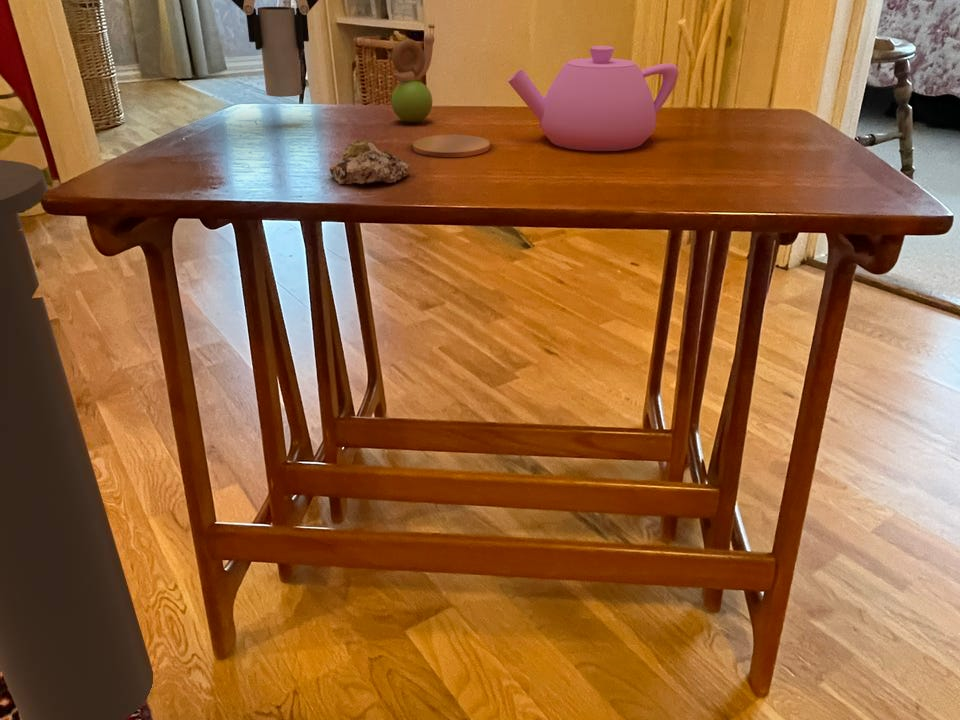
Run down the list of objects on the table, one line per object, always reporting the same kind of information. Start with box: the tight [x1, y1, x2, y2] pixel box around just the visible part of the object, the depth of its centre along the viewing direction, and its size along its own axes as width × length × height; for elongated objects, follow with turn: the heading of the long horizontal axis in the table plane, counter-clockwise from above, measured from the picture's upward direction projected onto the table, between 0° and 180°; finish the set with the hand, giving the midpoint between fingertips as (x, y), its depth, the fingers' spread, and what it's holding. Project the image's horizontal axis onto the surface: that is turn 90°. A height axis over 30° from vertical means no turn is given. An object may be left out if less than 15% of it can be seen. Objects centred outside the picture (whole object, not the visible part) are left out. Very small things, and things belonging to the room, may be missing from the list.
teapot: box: [507, 45, 680, 152], centre depth 93 cm, size 14×20×11 cm
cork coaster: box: [412, 134, 491, 158], centre depth 92 cm, size 9×9×1 cm
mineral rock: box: [328, 139, 411, 185], centre depth 81 cm, size 11×4×8 cm
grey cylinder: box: [256, 6, 303, 98], centre depth 99 cm, size 4×4×10 cm
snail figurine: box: [390, 23, 436, 124], centre depth 102 cm, size 5×6×12 cm
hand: (279, 46), depth 99 cm, fingers closed on grey cylinder, 4 cm apart
